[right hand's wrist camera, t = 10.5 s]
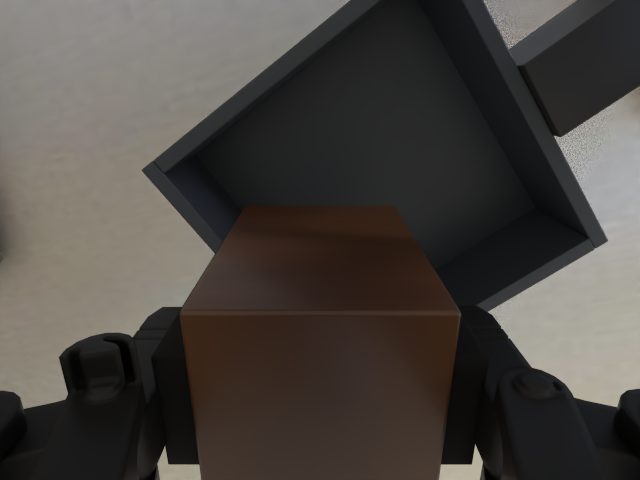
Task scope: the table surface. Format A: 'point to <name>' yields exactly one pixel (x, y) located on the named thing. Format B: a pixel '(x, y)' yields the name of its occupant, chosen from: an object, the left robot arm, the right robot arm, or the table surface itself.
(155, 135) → the table surface
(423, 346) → the walnut block
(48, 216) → the table surface
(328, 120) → the grey box
